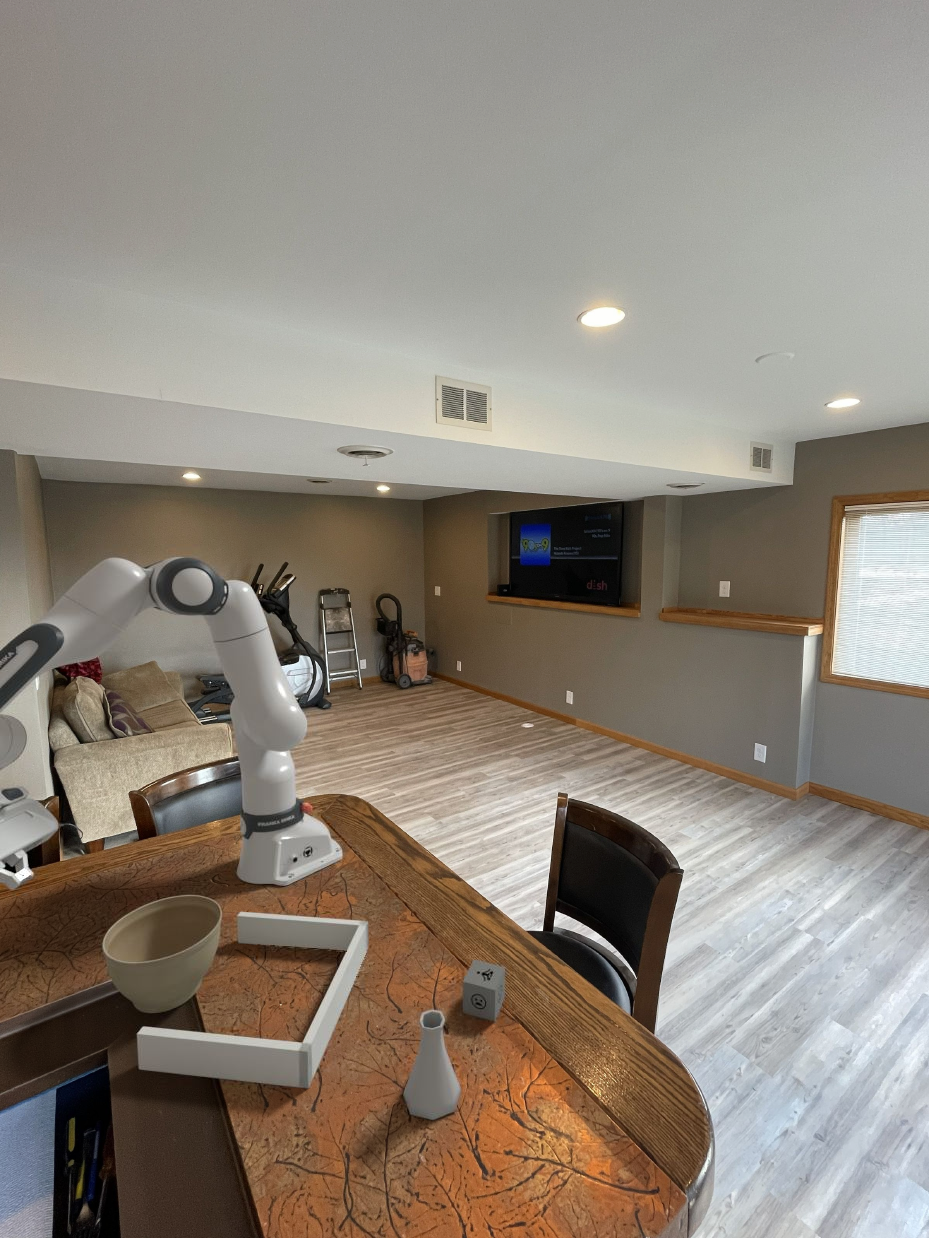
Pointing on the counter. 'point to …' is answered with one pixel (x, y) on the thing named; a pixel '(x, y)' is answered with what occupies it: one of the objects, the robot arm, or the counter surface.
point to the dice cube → (484, 990)
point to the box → (255, 1054)
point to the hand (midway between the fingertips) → (23, 882)
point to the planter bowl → (163, 950)
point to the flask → (432, 1073)
